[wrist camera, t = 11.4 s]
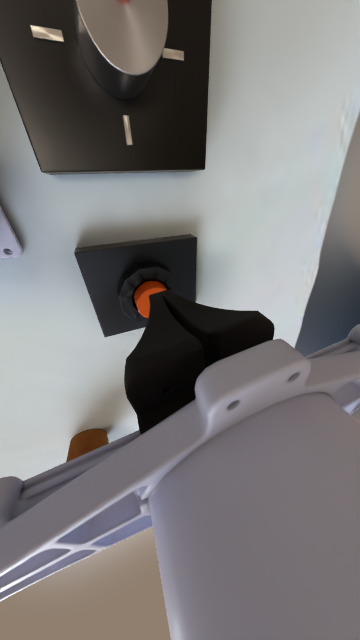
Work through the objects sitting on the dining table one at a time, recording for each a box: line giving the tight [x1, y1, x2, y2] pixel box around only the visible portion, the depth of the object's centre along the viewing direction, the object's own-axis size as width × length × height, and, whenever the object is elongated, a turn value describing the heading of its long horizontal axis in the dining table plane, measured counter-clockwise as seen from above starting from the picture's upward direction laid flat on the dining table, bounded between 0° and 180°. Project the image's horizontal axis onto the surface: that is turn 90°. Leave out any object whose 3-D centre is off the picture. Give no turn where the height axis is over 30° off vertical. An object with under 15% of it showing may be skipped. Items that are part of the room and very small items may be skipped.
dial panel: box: [0, 0, 212, 175], centre depth 12 cm, size 12×11×3 cm
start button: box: [134, 281, 167, 318], centre depth 19 cm, size 4×4×2 cm
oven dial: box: [73, 0, 168, 99], centre depth 9 cm, size 4×4×4 cm
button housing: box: [74, 234, 197, 337], centre depth 21 cm, size 12×10×4 cm
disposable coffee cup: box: [66, 429, 109, 462], centre depth 31 cm, size 10×10×12 cm
